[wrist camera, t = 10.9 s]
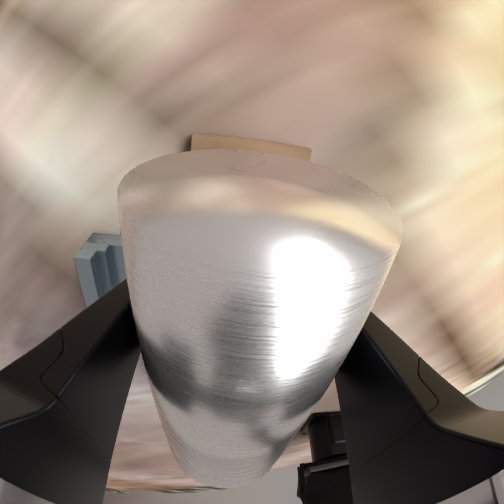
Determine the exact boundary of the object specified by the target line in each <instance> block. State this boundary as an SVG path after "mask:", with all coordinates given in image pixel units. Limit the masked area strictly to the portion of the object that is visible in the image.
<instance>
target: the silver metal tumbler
mask: <svg viewBox="0 0 504 504" xmlns="http://www.w3.org/2000/svg"><path fill="white" fill-rule="evenodd" d="M118 208H119V220H120V230H121V239H122V248H123V255H124V263H125V270H126V276H127V283H128V289H129V295H130V300H131V306H132V311H133V316H134V321H135V326H136V331H137V335H138V340H139V344H140V349H141V353H142V357H143V361H144V365H145V369H146V373H147V376H148V380H149V384H150V387H151V391H152V394H153V398H154V401H155V404H156V407H157V411H158V414H159V417H160V420H161V423H162V426H163V429H164V432H165V435H166V438H167V441H168V443H169V446H170V449H171V452H172V454H173V457H174V459H175V460H176V462H177V464H178V465H179V466H180V468H181V469H182V470H183V471H184V472H185V473H186V474H187V475H189V476H190V477H191V478H193V479H195V480H196V481H198V482H200V483H202V484H205V485H208V486H211V487H216V488H238V487H242V486H246V485H248V484H251V483H253V482H255V481H257V480H258V479H260V478H261V477H263V476H264V475H265V474H266V473H267V472H268V471H269V470H270V469H271V467H272V466H273V465H274V464H275V462H276V461H277V460H278V458H279V457H280V456H281V455H282V453H283V452H284V451H285V449H286V448H287V447H288V445H289V444H290V443H291V441H292V440H293V439H294V437H295V436H296V434H297V433H298V432H299V430H300V429H301V427H302V426H303V425H304V423H305V422H306V420H307V419H308V417H309V416H310V414H311V413H312V411H313V410H314V408H315V407H316V405H317V404H318V402H319V401H320V399H321V398H322V396H323V395H324V393H325V391H326V390H327V388H328V387H329V385H330V383H331V382H332V380H333V378H334V377H335V375H336V373H337V372H338V370H339V368H340V367H341V365H342V363H343V362H344V360H345V358H346V356H347V355H348V353H349V351H350V349H351V347H352V346H353V344H354V342H355V340H356V338H357V336H358V334H359V333H360V331H361V329H362V327H363V325H364V323H365V321H366V319H367V317H368V315H369V313H370V311H371V309H372V307H373V305H374V303H375V301H376V299H377V297H378V295H379V293H380V290H381V288H382V286H383V284H384V282H385V279H386V277H387V275H388V273H389V270H390V268H391V266H392V264H393V261H394V259H395V256H396V254H397V252H398V249H399V247H400V244H401V242H402V239H403V236H404V227H403V223H402V220H401V218H400V216H399V214H398V213H397V212H396V210H395V209H394V208H393V207H392V205H391V204H390V203H389V202H388V201H387V200H385V199H384V198H383V197H382V196H381V195H379V194H378V193H377V192H375V191H374V190H372V189H371V188H369V187H368V186H366V185H364V184H363V183H361V182H359V181H357V180H355V179H353V178H351V177H349V176H347V175H345V174H342V173H340V172H338V171H335V170H333V169H330V168H327V167H324V166H322V165H319V164H315V163H312V162H309V161H305V160H301V159H297V158H293V157H289V156H284V155H279V154H273V153H267V152H259V151H250V150H236V149H207V150H194V151H186V152H179V153H174V154H169V155H165V156H162V157H158V158H155V159H152V160H150V161H147V162H145V163H143V164H141V165H139V166H137V167H136V168H134V169H132V170H131V171H130V172H129V173H128V174H126V175H125V176H124V178H123V179H122V181H121V182H120V184H119V187H118Z"/></svg>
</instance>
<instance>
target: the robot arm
mask: <svg viewBox="0 0 504 504" xmlns="http://www.w3.org/2000/svg"><path fill="white" fill-rule="evenodd" d="M140 352H141V349H140V344H139V340H138V335H137V331H136V326H135V321H134V316H133V311H132V306H131V300H130V295H129V289H128V283H127V278H126V279H125V280H123V281H122V282H121V283H119V284H118V285H116V286H115V287H114V288H112V289H111V290H110V291H108V292H107V293H106V294H104V295H103V296H101V297H100V298H99V299H97V300H96V301H95V302H93V303H92V304H91V305H89V306H88V307H87V308H86V309H84V310H83V311H82V312H80V313H79V314H78V315H76V316H75V317H74V318H72V319H71V320H70V321H69V322H67V323H66V324H65V325H64V326H62V327H61V329H58V330H57V331H56V332H54V333H53V334H52V335H51V336H49V337H48V338H47V339H45V340H44V341H43V342H41V343H40V344H39V345H37V346H36V347H35V348H33V349H32V350H30V351H29V352H27V353H26V354H24V355H23V356H21V357H20V358H18V359H17V360H15V361H14V362H12V363H11V364H10V365H8V366H7V367H5V368H4V369H2V370H1V371H0V504H103V498H104V493H105V488H106V483H107V478H108V473H109V468H110V464H111V459H112V454H113V450H114V446H115V442H116V437H117V433H118V429H119V425H120V422H121V418H122V414H123V410H124V407H125V403H126V399H127V396H128V392H129V389H130V385H131V382H132V378H133V375H134V372H135V368H136V365H137V362H138V359H139V355H140ZM335 382H336V388H337V393H338V399H339V404H340V410H341V412H333V413H316V414H313V415H312V416H311V417H310V419H309V420H308V421H307V423H306V424H305V425H304V427H303V428H302V430H301V431H300V434H301V435H308V434H309V439H310V447H311V455H312V462H311V463H305V464H304V463H302V464H300V467H298V468H297V469H298V488H297V497H299V498H300V499H301V501H302V503H303V504H504V412H503V411H493V410H487V409H483V408H481V407H479V406H477V405H476V404H474V403H473V402H471V400H469V399H468V398H467V397H466V396H465V395H463V394H462V393H461V392H460V391H458V390H457V389H456V388H455V387H454V386H452V385H451V384H450V383H449V382H448V381H446V380H445V379H444V378H443V377H442V376H440V375H439V374H438V373H437V372H436V371H435V370H434V369H433V368H432V367H430V366H429V365H428V364H427V363H426V362H425V361H424V360H423V359H422V358H421V357H419V355H418V354H417V353H416V352H414V351H413V350H412V349H411V348H410V347H409V346H408V345H407V344H406V343H405V342H404V341H403V340H402V339H401V338H400V337H398V336H397V335H396V334H395V333H394V332H393V331H392V330H391V329H390V328H389V327H388V326H386V325H385V324H384V323H383V322H382V321H381V320H380V319H379V318H378V317H377V316H376V315H374V314H373V313H372V312H371V311H370V313H369V315H368V317H367V319H366V321H365V323H364V325H363V327H362V329H361V331H360V333H359V334H358V336H357V338H356V340H355V342H354V344H353V346H352V347H351V349H350V351H349V353H348V355H347V356H346V358H345V360H344V362H343V363H342V365H341V367H340V368H339V370H338V372H337V373H336V375H335Z"/></svg>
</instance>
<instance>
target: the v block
mask: <svg viewBox="0 0 504 504" xmlns="http://www.w3.org/2000/svg"><path fill="white" fill-rule="evenodd" d="M74 260H75V265H76V269H77V273H78V277H79V281H80V285H81V289H82V293H83V296H84V300H85V303H86V307H88V306H89V305H91V304H92V303H93V302H95V301H96V300H97V299H99V298H100V297H101V296H103V295H104V294H106V293H107V292H108V291H110V290H111V289H112V288H114V287H115V286H116V285H118V284H119V283H121V282H122V281H123V280H125V279H126V278H127V276H126V270H125V263H124V255H123V248H122V239H121V236H116V235H106V234H97V233H93V234H92V235H91V236H90V237H89V239H88V240H87V241H86V242H85V244H84V245H83V246H82V247H81V249H80V250H79V251H78V253H77V254H76V255H75V256H74Z"/></svg>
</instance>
